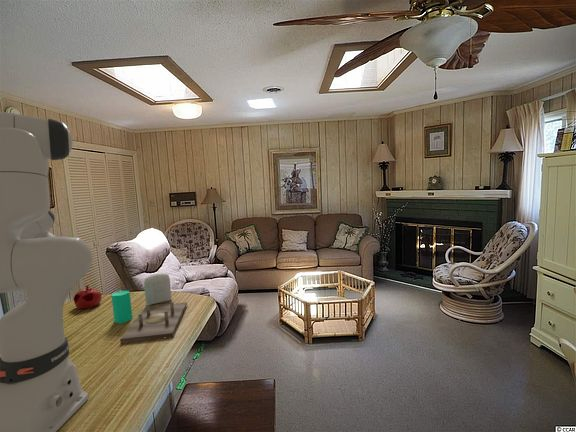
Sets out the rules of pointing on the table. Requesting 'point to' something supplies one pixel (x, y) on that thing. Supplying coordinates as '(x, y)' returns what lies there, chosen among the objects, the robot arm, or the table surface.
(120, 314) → the candle
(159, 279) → the photo printer
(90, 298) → the pomegranate
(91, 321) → the table surface
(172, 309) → the candle stand
